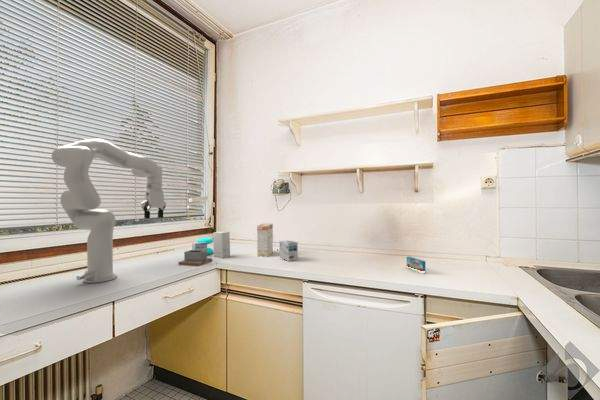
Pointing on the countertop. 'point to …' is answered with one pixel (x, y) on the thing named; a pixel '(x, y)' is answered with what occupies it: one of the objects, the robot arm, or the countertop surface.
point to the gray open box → (195, 255)
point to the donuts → (208, 241)
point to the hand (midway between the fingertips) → (154, 218)
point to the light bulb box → (289, 250)
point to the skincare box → (221, 244)
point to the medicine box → (199, 246)
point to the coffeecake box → (264, 239)
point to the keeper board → (192, 263)
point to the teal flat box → (416, 263)
